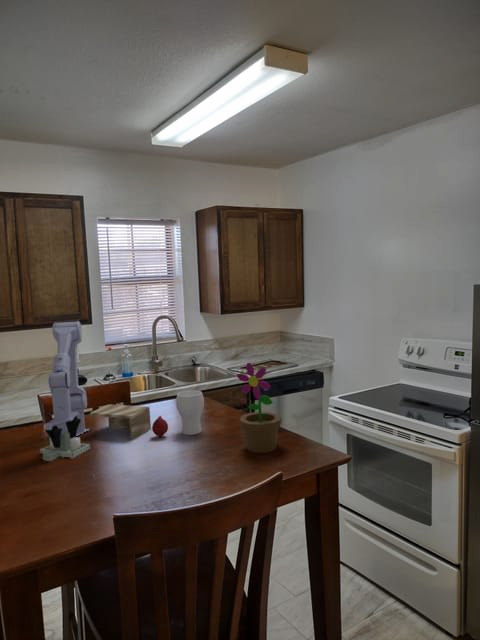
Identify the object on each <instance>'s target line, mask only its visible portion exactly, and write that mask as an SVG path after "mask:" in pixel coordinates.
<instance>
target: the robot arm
mask: <svg viewBox="0 0 480 640" xmlns="http://www.w3.org/2000/svg"><path fill="white" fill-rule="evenodd" d="M82 330H83V329H82V323H81V322H80V321H79V320H76V321H65V322H54V323H53V324H52V336H53V338H54V340H55V342H56V343H57V354H55V356H53V360H52V361H53V362H52V367H51V373H49V374H48V377H47V378H48V387H49V390H50V395H51V399H52V409H53V410H52V411H53V418H52V419H51V420H50V421H49V422H47V423H45V425H44V427H45V429H44V430H45V433H46V434H47V435H48V437H49V439H50V438H51V440H52V443H53V445H54V448H60V445H61V442H60V437H61V433H63V432H67V433H70V439H71V438H73V437H76V436H78V435H80V434H82V435H84V434H85V433H84V432H86V431H88V432H90V431H89V430H91V429H90V428H86V425H85V413H84V410H86V409H87V407H88V398H87V392H86V389H85V388H83V387H82V386H80V385H79V377H78V376H79V375H78V373H79V372H78V371H79V370H78V353H77V352H78V351H77V350H78V349H77V348H78V344H80V343H82V340H83V335H82V333H83V332H82ZM83 433H84V434H83ZM86 433H87V432H86ZM80 436H81V435H80ZM78 437H79V436H78Z"/></svg>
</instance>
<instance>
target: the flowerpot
mask: <svg viewBox="0 0 480 640" xmlns="http://www.w3.org/2000/svg"><path fill="white" fill-rule="evenodd" d="M245 367H246V368H245V369H246V371H247V374H244V373H237V374H236V377H237V378H238V380H239V381H242V382H245V383H247V382H248V383H247V384H245V385H243V386H242V388H241V394H242V395H246V394H248V393H249V392H250V391H251V389H252V393H253V396H254V398H255V399H256V400H257V401H258V402H257V403H258V404H257V403H251V404H249V405H248V406H247V407H248V408H249V409H251V410H254V412H249V413H245V414H243V415H241V416H240V417H239V421H238V422H239V426H240V427H241V428H242V429H243V434H244V441H245V447H246V449H247V450H248V451H249V452H253V453H258V454H259V453H260V454H261V453H263V454H264V453H269V452H273V451H274V450H276V449H277V443H278V433H279V432H278V431H279V427H281V425H282V416H281V415H280V414H278V413H275V412H271V411H262V404H263V405H267V406H268V405H270V406H271V405H272V404H273V400H272V399H271V397H269V396H268V395H265V394H264V395H263V394H262V395H261V391H260V389H263V390H270V389H271V387H272V386H271V384H270V383H268V382H267V381H264V380H259V379H262V378H263V377H264V376H265V375H266V372H267V369H266V367H263V368H260V369H259V370H257V372H256V373H255V369H254V366H253V365H252V363H250V362H247V363H246V366H245ZM254 374H255V375H254ZM248 375H249V376H248ZM257 410H258V411H257ZM255 411H256V412H255Z"/></svg>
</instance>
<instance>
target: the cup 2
mask: <svg viewBox="0 0 480 640" xmlns="http://www.w3.org/2000/svg"><path fill="white" fill-rule="evenodd" d="M204 399H205V398H204V395H203V392H202V391H201V390H193V389H192V390H185V391H184V390H183V391H179V392H178V393H177V394H176V400H175V404H176V405H175V408H176V409H177V412H178V414H179V416H180V417H181V424H182V426H181V434H183V435H185V436H187V435H188V436H193V435H198V434H200V433H201V432H203V429H202V424H201V416H202V413H203V411H204V407H205V400H204Z"/></svg>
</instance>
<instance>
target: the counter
mask: <svg viewBox="0 0 480 640" xmlns="http://www.w3.org/2000/svg"><path fill="white" fill-rule="evenodd" d="M89 416H90V417H103V418H104V417H105V418H108V427H110V428H117V429H118V428H120V429H121V428H122V429H129V430H130V440H134V441H135V440H137V438H139V437H141V436H143V435H144V434H145V433H147V432H149V431H150V430H152V427H151V426H152V424H151V423H152V422H151V410H150V406H140V405H126V404H125V405H123V404H107V405H105V406H103V407H100V408H98V409H95V410H93V411H91V412H89Z"/></svg>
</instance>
